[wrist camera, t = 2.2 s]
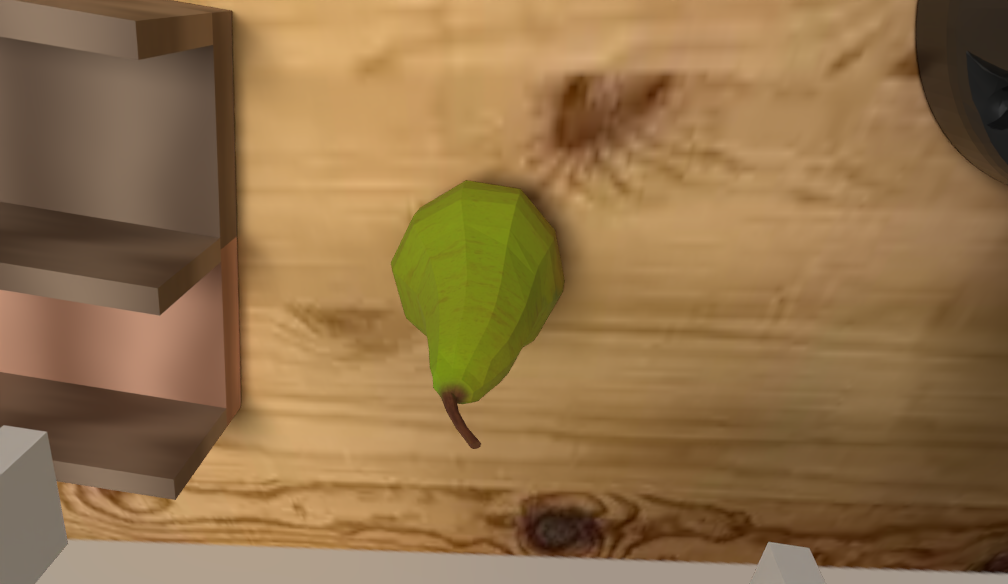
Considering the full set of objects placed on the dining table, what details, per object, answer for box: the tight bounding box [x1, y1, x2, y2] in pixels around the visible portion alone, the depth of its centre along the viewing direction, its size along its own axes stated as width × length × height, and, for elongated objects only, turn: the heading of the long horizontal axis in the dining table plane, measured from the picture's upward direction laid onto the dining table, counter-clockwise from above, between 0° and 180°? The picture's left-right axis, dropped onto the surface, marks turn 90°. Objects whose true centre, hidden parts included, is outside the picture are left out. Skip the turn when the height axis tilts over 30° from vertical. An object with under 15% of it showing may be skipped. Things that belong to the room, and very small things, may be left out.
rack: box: [0, 0, 241, 500], centre depth 24 cm, size 12×17×6 cm
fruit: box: [391, 180, 565, 449], centre depth 21 cm, size 6×6×12 cm
